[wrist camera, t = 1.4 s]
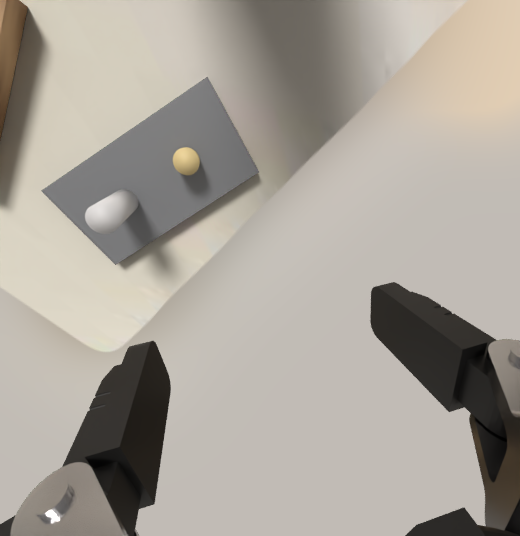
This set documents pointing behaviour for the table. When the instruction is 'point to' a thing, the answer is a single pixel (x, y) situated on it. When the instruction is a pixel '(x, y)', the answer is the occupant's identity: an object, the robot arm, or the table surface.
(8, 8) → the holed bar
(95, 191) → the base
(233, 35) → the table surface
